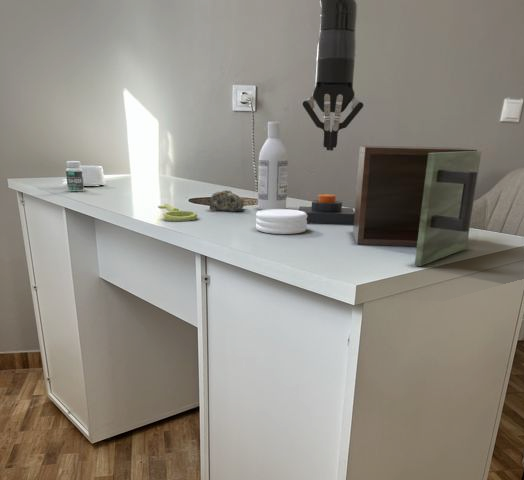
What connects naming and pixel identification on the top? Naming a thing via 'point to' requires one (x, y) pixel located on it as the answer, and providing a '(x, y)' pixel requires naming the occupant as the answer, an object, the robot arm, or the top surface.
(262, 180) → the bath foam
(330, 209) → the switch block
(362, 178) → the cupboard
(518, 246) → the top surface
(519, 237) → the top surface
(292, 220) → the white flat cylinder
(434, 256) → the door
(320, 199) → the button
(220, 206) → the rock
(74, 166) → the pill bottle
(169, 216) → the key
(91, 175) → the white rounded block
